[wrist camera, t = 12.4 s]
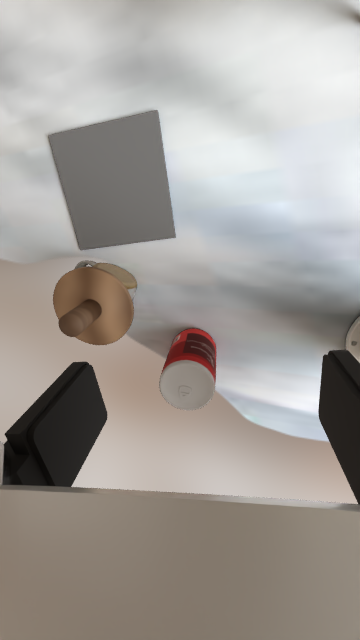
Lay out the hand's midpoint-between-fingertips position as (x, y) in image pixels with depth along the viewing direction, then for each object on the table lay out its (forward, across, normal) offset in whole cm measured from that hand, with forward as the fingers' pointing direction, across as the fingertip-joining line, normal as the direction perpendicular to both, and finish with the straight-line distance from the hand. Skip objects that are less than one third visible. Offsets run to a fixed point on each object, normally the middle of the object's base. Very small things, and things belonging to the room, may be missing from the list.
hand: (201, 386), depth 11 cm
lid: (+23, +17, +4) cm, 28 cm away
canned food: (+31, +5, +15) cm, 34 cm away
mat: (+30, +13, -11) cm, 35 cm away
